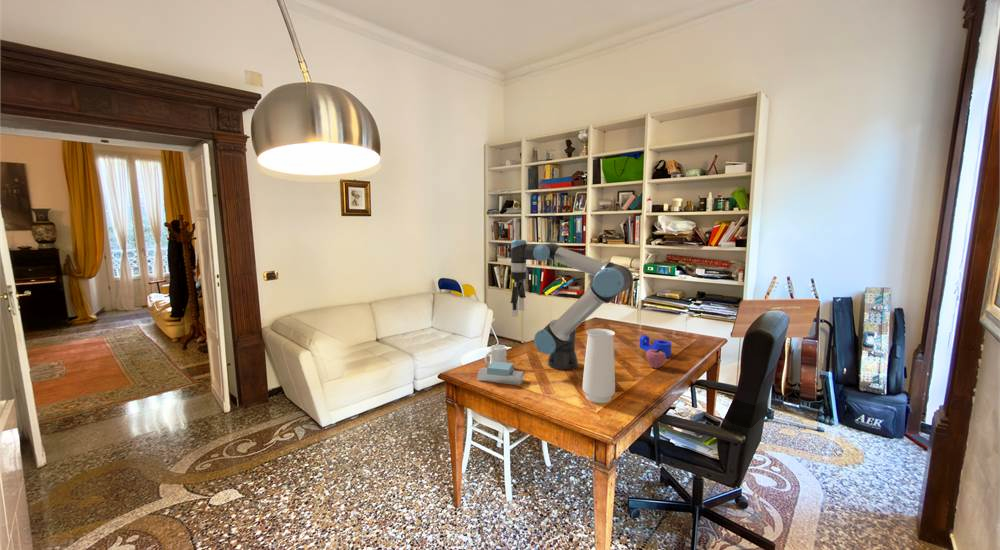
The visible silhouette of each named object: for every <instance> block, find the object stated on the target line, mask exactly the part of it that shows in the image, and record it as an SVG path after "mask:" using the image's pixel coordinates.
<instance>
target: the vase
mask: <svg viewBox="0 0 1000 550" xmlns="http://www.w3.org/2000/svg"><path fill="white" fill-rule="evenodd" d="M585 332H586V334H587V338H586V339H587V340H586V348H585V355H584V357H585V358H584V366H583V375H582V376H583V377H582V391H583V392H584V393H585V397H586V400H588V401H590V402H591V403H596V404H605V403H609V402H610V401H611V399H612V397H613V395H615V393H616V373H615V370H616V369H615V367H616V366H615V350H614V349H615V345H614V336H615V334H616V332H615V331H614V330H611V329H608V328H599V327H598V328H589V329H587V330H585Z"/></svg>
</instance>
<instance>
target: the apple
mask: <svg viewBox="0 0 1000 550" xmlns="http://www.w3.org/2000/svg"><path fill="white" fill-rule="evenodd" d="M645 352H646V351H645ZM645 358H646V361H647V362H648V363H649V366H650V367H651V368H653V367H654V369H659V368H661V366H662V365H663V363H664V362H665V361H666V359H667V358H666V355H665V353H664V352H662V351H661V349H659V350H652V349H651V350H648V351H647V352H646V353H645Z"/></svg>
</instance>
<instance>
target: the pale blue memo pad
mask: <svg viewBox="0 0 1000 550" xmlns="http://www.w3.org/2000/svg"><path fill="white" fill-rule="evenodd" d="M486 368H487V374H490V375H499V376H509V375H510V374H511V372H512V371H513V370H514V363H513V362H507V361H506V362H496V361H493V362H492V363H491V364H490V365H489V366H488V365H487V367H486Z"/></svg>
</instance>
